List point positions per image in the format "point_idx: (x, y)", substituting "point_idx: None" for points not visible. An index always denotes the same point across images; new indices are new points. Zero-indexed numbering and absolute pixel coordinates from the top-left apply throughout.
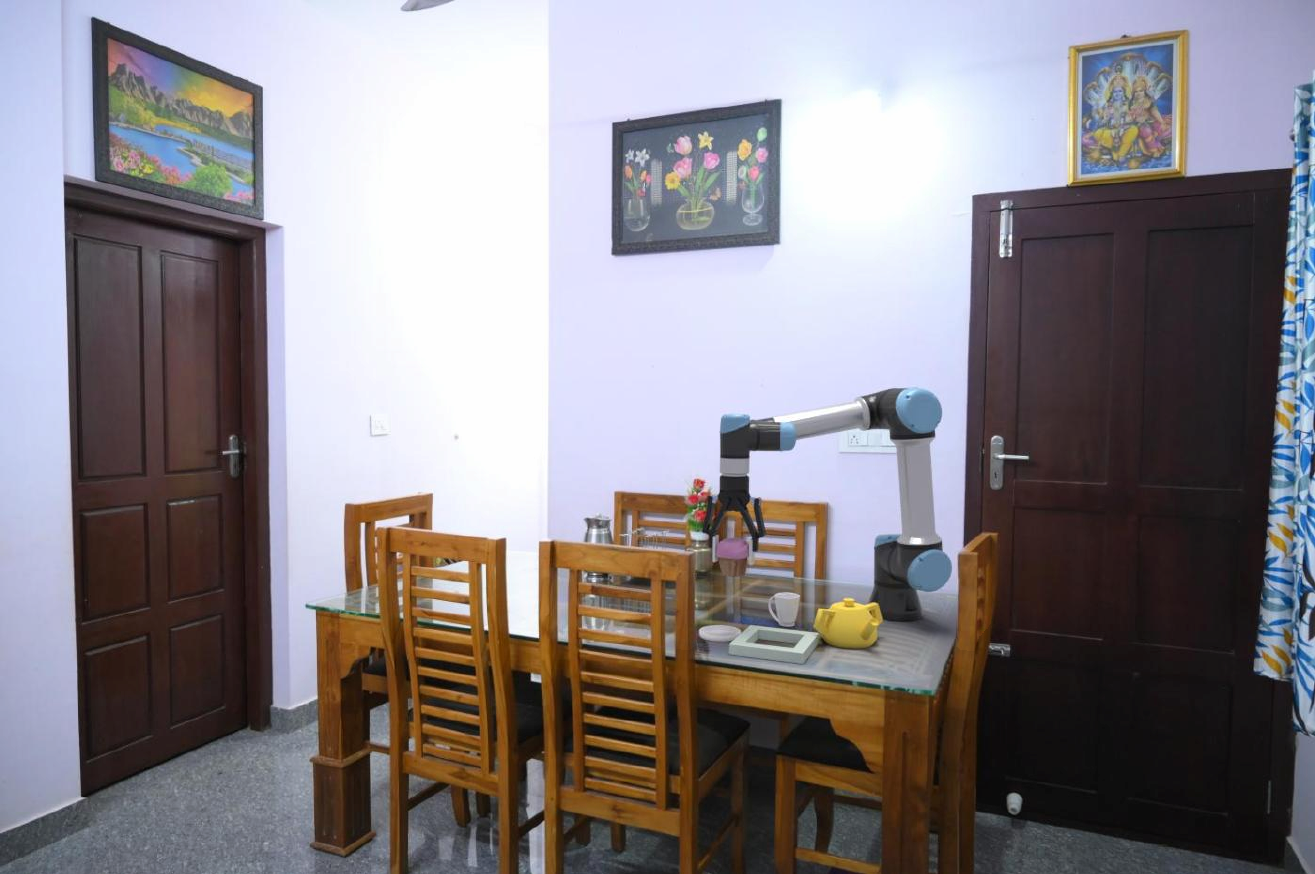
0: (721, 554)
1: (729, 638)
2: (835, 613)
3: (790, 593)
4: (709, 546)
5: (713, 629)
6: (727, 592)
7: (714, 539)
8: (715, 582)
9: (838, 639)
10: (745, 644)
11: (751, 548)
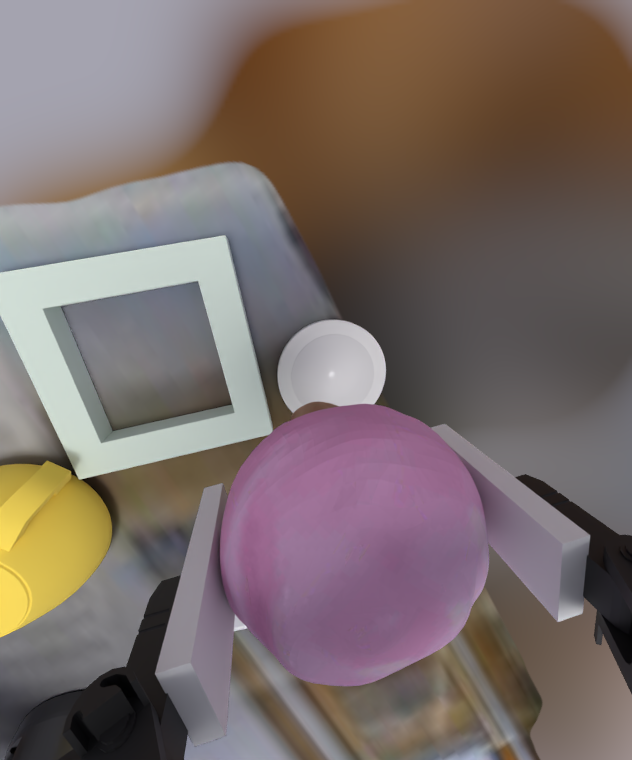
0: (389, 409)
1: (287, 345)
2: None
3: (244, 625)
4: (537, 481)
5: (351, 373)
6: (461, 638)
7: (547, 520)
8: (508, 672)
9: (5, 467)
10: (183, 261)
11: (184, 579)
